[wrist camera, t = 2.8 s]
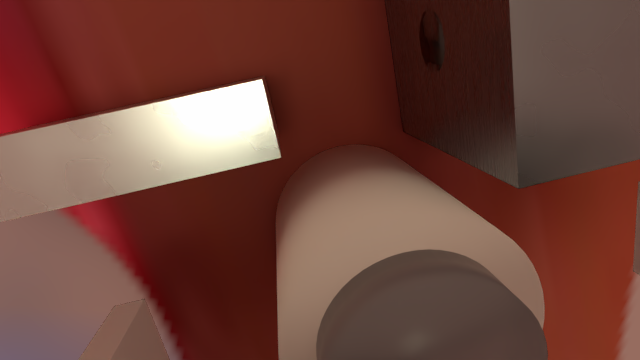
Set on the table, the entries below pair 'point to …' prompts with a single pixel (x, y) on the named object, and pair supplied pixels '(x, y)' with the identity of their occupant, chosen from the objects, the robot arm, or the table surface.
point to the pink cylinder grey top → (396, 268)
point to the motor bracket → (414, 99)
